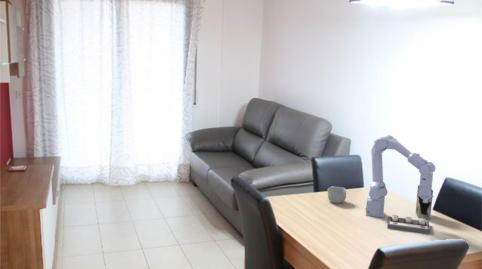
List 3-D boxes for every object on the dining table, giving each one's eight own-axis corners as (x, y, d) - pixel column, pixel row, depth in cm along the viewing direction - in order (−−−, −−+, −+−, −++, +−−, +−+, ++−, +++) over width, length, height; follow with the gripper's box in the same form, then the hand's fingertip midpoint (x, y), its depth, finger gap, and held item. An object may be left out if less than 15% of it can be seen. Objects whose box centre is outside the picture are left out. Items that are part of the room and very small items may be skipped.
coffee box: (415, 212, 242) (417, 185, 239) (427, 213, 241) (429, 185, 238) (418, 218, 233) (420, 190, 230) (430, 219, 232) (433, 190, 229)
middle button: (405, 222, 222) (405, 218, 221) (405, 220, 225) (405, 216, 224) (411, 223, 221) (411, 219, 220) (411, 221, 224) (411, 217, 223)
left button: (391, 221, 224) (392, 216, 223) (391, 219, 227) (392, 214, 226) (398, 221, 223) (398, 217, 222) (398, 219, 226) (398, 215, 225)
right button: (418, 224, 220) (419, 220, 219) (418, 222, 222) (419, 217, 222) (425, 225, 219) (425, 220, 218) (424, 223, 222) (425, 218, 221)
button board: (387, 228, 220) (387, 223, 219) (387, 219, 231) (388, 215, 231) (429, 234, 213) (430, 229, 213) (428, 225, 224) (428, 220, 224)
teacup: (347, 205, 252) (348, 192, 251) (328, 205, 253) (329, 191, 251) (342, 197, 266) (342, 184, 265) (324, 197, 266) (325, 184, 265)
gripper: (435, 191, 209) (432, 218, 211) (433, 183, 222) (430, 208, 225) (419, 189, 211) (417, 216, 214) (418, 181, 225) (416, 206, 227)
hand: (423, 212), depth 219 cm, fingers open, 6 cm apart
